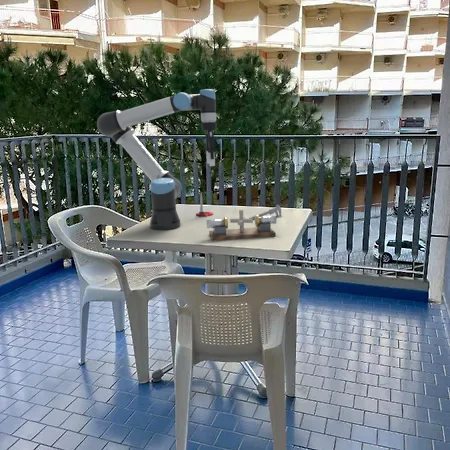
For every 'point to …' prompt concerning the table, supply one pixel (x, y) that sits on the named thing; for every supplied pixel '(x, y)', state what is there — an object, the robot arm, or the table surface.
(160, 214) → the robot arm
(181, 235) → the table surface
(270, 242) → the table surface
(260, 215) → the caliper
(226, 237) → the board
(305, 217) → the table surface
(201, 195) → the tow hook
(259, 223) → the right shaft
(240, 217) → the pipe connector
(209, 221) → the left shaft
